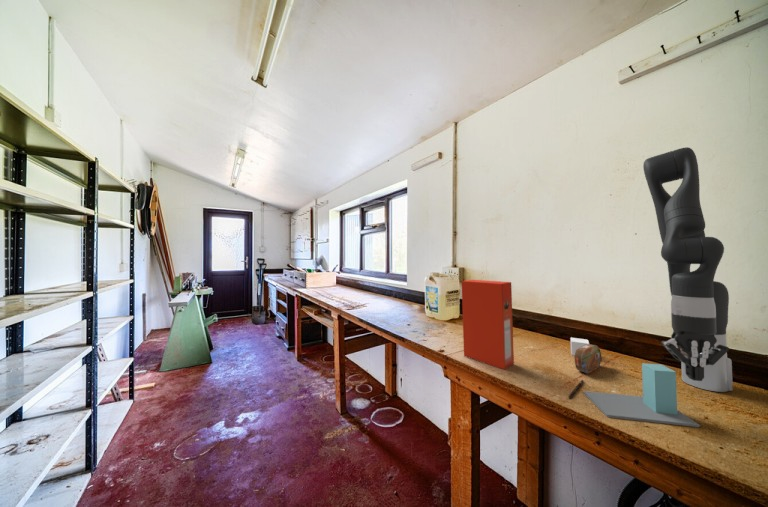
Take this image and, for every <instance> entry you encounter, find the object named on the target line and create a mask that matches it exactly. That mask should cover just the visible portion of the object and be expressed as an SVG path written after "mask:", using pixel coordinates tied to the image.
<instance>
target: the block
mask: <svg viewBox="0 0 768 507" xmlns="http://www.w3.org/2000/svg"><path fill="white" fill-rule="evenodd" d="M641 376H642V377H641V378H642V380H641V381H642V396H643V403H644V404H645V405H647V406H648V407H649V408H651V409H652V410H653V411H655V412H656V413H666V414H676V415H677V410H678V397H677V395H678V392H677V372H676V371H675V370H673V369H671V368H669V367H667V366H665V365H664V364H660V363H659V364H657V363H644V362H642V363H641Z"/></svg>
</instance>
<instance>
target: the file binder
mask: <svg viewBox="0 0 768 507" xmlns="http://www.w3.org/2000/svg"><path fill="white" fill-rule="evenodd" d="M512 296H513V295H512V282H511V281H497V280H482V279H481V280H480V279H466V280H462V281H461V298H462V300H461V301H462V332H463V333H462V334H463V336H462V337H463V338H462V339H463V357H465V356H467V357H466V358H468V357H470V358H469V359H471V358H473V359H472V360H474V359H475V361H477V360H478V361H477V362H480V361H481V362H480V363H483V362H484V363H483V364H486V365H489V366H493V367H494V368H498V369H501V370H506V369H508V368H510V367H512V366H513V365H514V363H515V360H514V357H515V356H514V355H515V354H514V330H513V329H514V328H513V327H514V326H513V325H514V324H513V297H512Z"/></svg>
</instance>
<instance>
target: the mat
mask: <svg viewBox="0 0 768 507" xmlns="http://www.w3.org/2000/svg"><path fill="white" fill-rule="evenodd" d="M582 393H583V395H584V396H586V398H587V399H588V400H590V402H591V403H593V405H595V406H596V408H598V410H599V411H600V412H601V413H602V414H604V416H605V417H606V418H613V419H621V420H630V421H640V422H649V423H657V424H666V425H675V426H676V425H677V426H685V427H691V428H692V427H694V428H701V427H700V424H699V423H697V422H696V421H694V420H693V419H691V418H690V417H688V416H687V415H686V414H684V413H683V412H681V411H679V410H678V409H677V415H676V414H666V413H656V412H655V411H653V410H652V409H651V408H649V407H648V406H647V405H645V404H644V403H643V395H641V396H639V395H630V394H620V393H619V394H618V393H607V392H598V391H589V390H588V391H586V390H583V392H582Z"/></svg>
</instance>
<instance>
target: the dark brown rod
mask: <svg viewBox="0 0 768 507" xmlns="http://www.w3.org/2000/svg"><path fill="white" fill-rule="evenodd" d="M583 383H584V380H583V379H581V380H580V381H579V382H578V384H577V385H576V386H575V388H574V389H573V390H572V392H570V394H569V395H568V399H569V400H571V399H572V398H573V396H574V395H575V394H576V392H577V391H578V390H579V388H580V387H581V386H582V385H583Z"/></svg>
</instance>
